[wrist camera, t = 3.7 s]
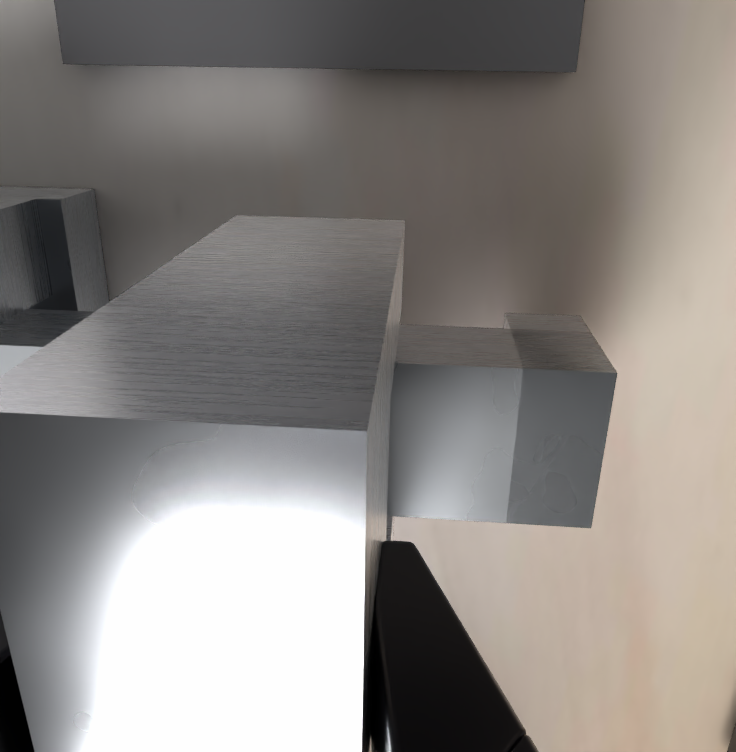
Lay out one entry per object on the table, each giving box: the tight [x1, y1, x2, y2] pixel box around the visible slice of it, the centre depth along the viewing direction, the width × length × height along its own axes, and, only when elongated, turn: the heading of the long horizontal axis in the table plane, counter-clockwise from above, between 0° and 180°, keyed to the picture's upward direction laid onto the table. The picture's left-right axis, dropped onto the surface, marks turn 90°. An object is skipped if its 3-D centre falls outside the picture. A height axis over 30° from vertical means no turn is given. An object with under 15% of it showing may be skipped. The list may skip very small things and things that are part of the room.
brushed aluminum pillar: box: [0, 215, 405, 752], centre depth 10 cm, size 3×7×8 cm, turn 179°
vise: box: [0, 186, 617, 528], centre depth 14 cm, size 16×7×4 cm, turn 89°
